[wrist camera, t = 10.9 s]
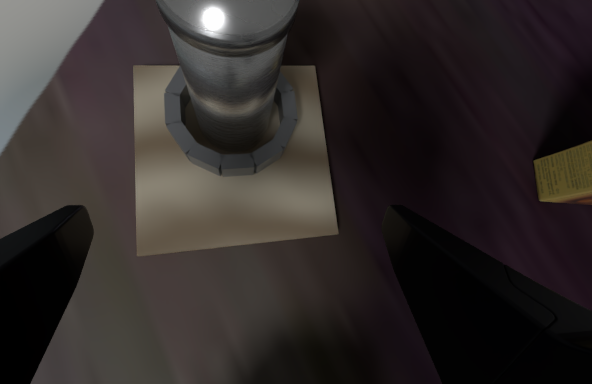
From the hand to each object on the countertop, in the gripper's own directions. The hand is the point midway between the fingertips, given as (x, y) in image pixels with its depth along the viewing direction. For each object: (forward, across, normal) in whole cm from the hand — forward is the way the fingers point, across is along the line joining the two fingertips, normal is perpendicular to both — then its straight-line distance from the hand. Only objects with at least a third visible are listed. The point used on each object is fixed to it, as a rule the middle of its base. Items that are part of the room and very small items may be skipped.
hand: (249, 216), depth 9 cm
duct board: (+14, +1, +5) cm, 15 cm away
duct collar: (+16, +1, +3) cm, 16 cm away
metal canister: (+15, +1, +3) cm, 16 cm away
